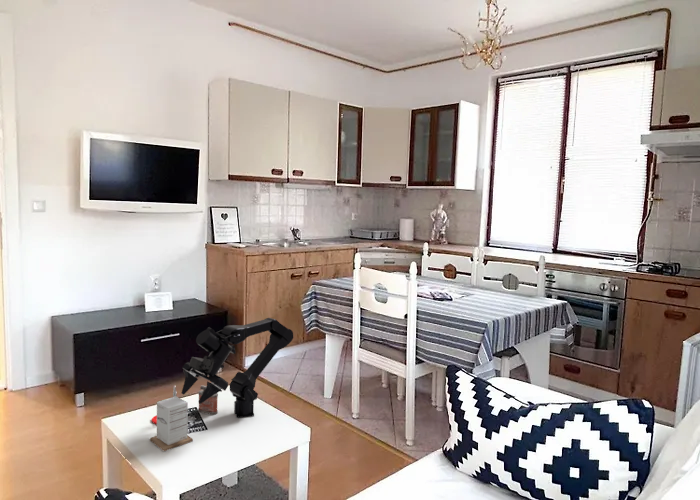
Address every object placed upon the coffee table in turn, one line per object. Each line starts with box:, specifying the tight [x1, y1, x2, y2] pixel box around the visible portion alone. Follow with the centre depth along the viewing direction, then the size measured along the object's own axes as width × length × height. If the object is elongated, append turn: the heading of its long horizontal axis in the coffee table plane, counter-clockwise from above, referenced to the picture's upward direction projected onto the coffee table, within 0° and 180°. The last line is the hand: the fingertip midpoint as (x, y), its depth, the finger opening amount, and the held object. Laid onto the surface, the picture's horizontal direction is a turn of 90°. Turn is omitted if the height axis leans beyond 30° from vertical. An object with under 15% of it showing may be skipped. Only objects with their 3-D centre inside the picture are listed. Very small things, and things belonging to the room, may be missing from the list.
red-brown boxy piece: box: [197, 385, 219, 416], centre depth 188 cm, size 8×3×10 cm, turn 71°
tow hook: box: [151, 385, 178, 425], centre depth 180 cm, size 8×13×9 cm
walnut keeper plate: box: [149, 434, 194, 452], centre depth 165 cm, size 10×10×1 cm
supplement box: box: [156, 396, 189, 445], centre depth 164 cm, size 7×7×13 cm
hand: (190, 398), depth 169 cm, fingers open, 9 cm apart
